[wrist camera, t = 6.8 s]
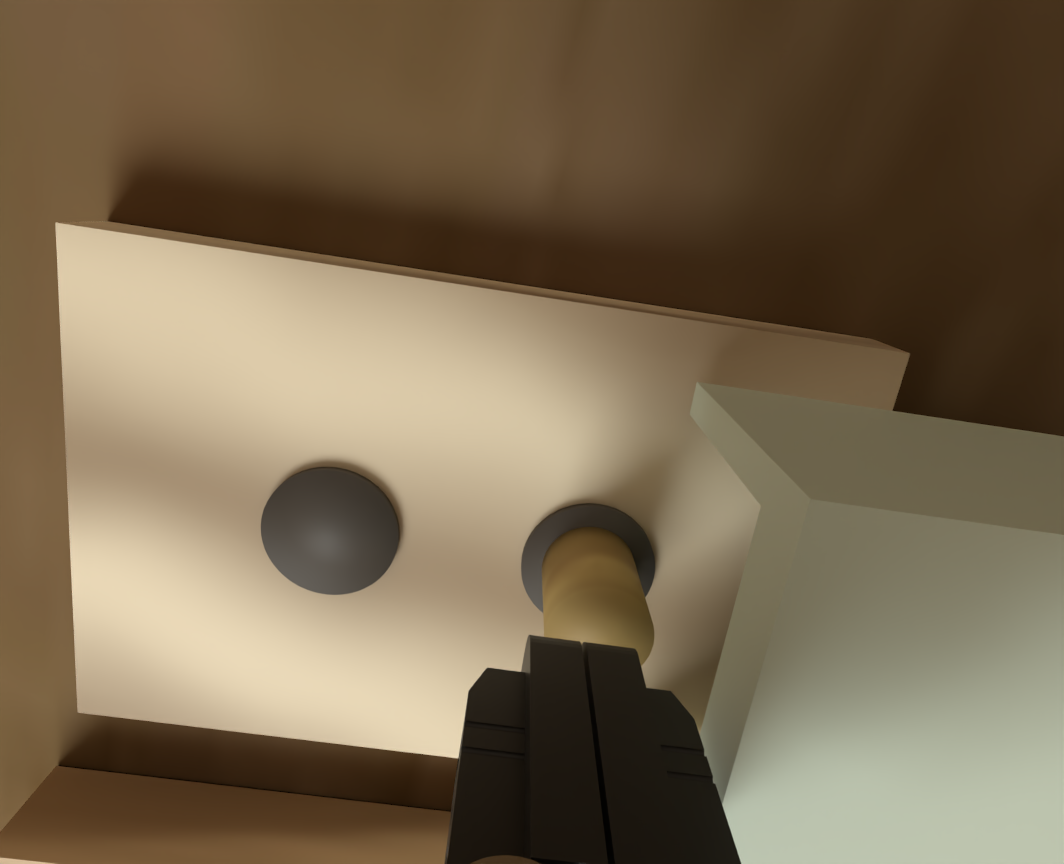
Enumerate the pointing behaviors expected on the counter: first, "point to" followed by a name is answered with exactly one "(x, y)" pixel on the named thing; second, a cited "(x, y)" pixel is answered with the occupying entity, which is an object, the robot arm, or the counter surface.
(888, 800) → the cover
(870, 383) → the board
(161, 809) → the socket board
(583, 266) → the counter surface
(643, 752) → the robot arm
